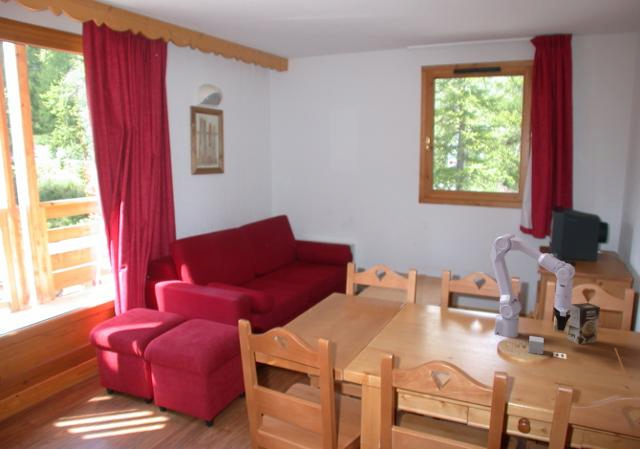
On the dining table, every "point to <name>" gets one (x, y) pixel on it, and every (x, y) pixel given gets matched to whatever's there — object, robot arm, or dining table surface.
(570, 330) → the coffee box
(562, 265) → the robot arm
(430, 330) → the dining table surface
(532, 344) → the grey block
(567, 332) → the maple block
